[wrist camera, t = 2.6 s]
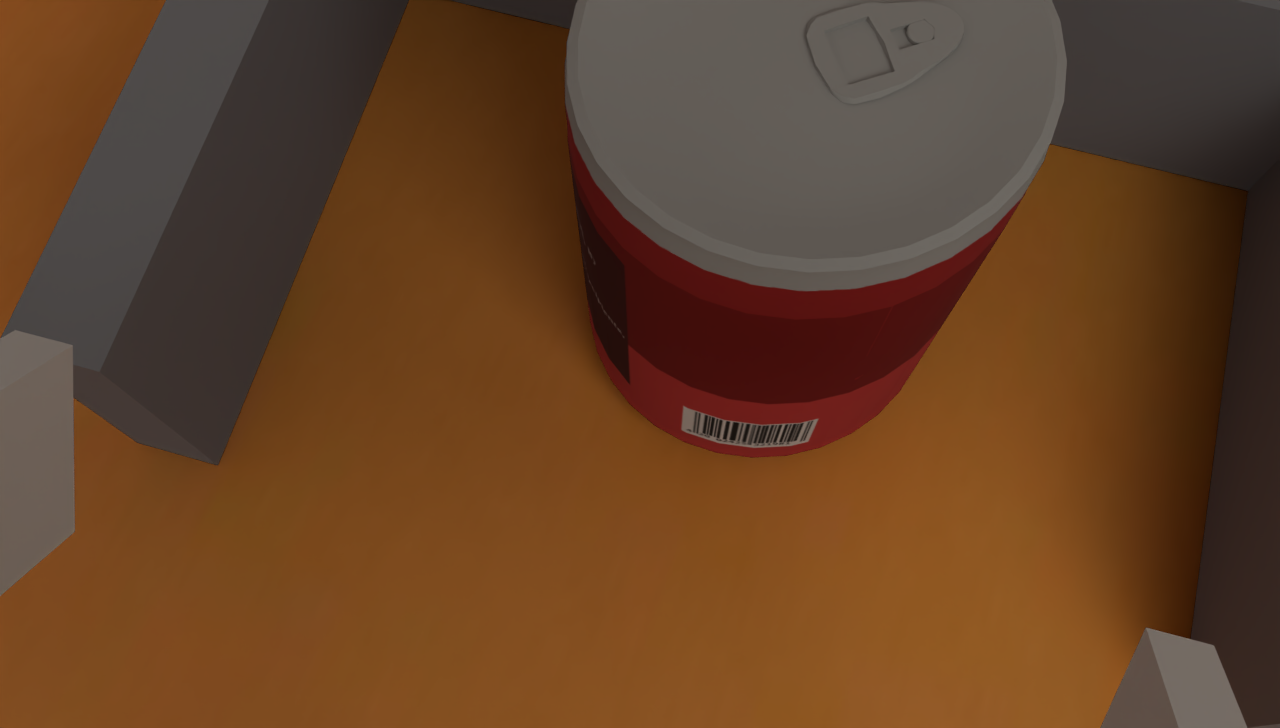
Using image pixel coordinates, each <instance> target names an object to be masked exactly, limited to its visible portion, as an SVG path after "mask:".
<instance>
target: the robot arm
mask: <svg viewBox="0 0 1280 728" xmlns="http://www.w3.org/2000/svg"><path fill="white" fill-rule="evenodd" d="M74 532H75V501H74V411H73V345H70V344H66V343H63V342H59V341H55V340H51V339H47V338H44V337H40V336H36V335H32V334H28V333H25V332H21V331H17V330H14V331H13V332H11V333H9V334H7V335H6V336H4V337H2V338H0V596H1V595H2V594H3V593H4V592H5V591H7V590H8V589H9V588H10V587H11V586H12V585H14V584H15V583H16V582H17V581H18V580H19V579H21V578H22V577H23V576H24V575H25V574H26V573H27V572H29V571H30V570H31V569H32V568H33V567H34V566H36V565H37V564H38V563H39V562H40V561H41V560H43V559H44V558H45V557H46V556H47V555H48V554H50V553H51V552H52V551H53V550H54V549H55V548H56V547H58V546H59V545H60V544H61V543H62V542H63V541H65V540H66V539H67V538H68V537H69V536H70V535H72V534H73V533H74ZM1100 728H1247V726H1246V723H1245V721H1244V718H1243V716H1242V713H1241V711H1240V708H1239V706H1238V703H1237V701H1236V698H1235V696H1234V694H1233V691H1232V689H1231V686H1230V684H1229V681H1228V679H1227V676H1226V674H1225V671H1224V669H1223V666H1222V664H1221V661H1220V659H1219V656H1218V654H1217V651H1216V649H1215V647H1214V645H1211V644H1207V643H1203V642H1199V641H1195V640H1192V639H1188V638H1184V637H1180V636H1176V635H1173V634H1169V633H1165V632H1161V631H1157V630H1154V629H1150V628H1145V631H1144V633H1143V635H1142V637H1141V639H1140V642H1139V644H1138V646H1137V648H1136V650H1135V653H1134V655H1133V657H1132V659H1131V661H1130V664H1129V666H1128V668H1127V670H1126V672H1125V675H1124V677H1123V679H1122V681H1121V683H1120V686H1119V688H1118V690H1117V692H1116V694H1115V697H1114V699H1113V701H1112V703H1111V705H1110V708H1109V710H1108V712H1107V714H1106V716H1105V719H1104V721H1103V723H1102V725H1101V727H1100Z"/></svg>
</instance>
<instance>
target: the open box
mask: <svg viewBox="0 0 1280 728" xmlns="http://www.w3.org/2000/svg"><path fill="white" fill-rule="evenodd" d="M408 1H409V0H166V2H165V4H164V6H163V8H162V10H161V12H160V14H159V16H158V18H157V20H156V22H155V24H154V26H153V28H152V30H151V32H150V34H149V36H148V38H147V40H146V42H145V44H144V46H143V48H142V51H141V53H140V55H139V57H138V59H137V61H136V63H135V65H134V67H133V69H132V71H131V73H130V75H129V77H128V79H127V81H126V83H125V85H124V87H123V89H122V91H121V93H120V95H119V98H118V100H117V102H116V104H115V106H114V108H113V110H112V112H111V114H110V116H109V118H108V120H107V122H106V124H105V126H104V128H103V130H102V132H101V134H100V136H99V138H98V140H97V142H96V144H95V147H94V149H93V151H92V153H91V155H90V157H89V159H88V161H87V163H86V165H85V167H84V169H83V171H82V173H81V175H80V177H79V179H78V181H77V183H76V185H75V187H74V189H73V191H72V194H71V196H70V198H69V200H68V202H67V204H66V206H65V208H64V210H63V212H62V214H61V216H60V218H59V220H58V222H57V224H56V226H55V228H54V230H53V232H52V234H51V236H50V238H49V240H48V243H47V245H46V247H45V249H44V251H43V253H42V255H41V257H40V259H39V261H38V263H37V265H36V267H35V269H34V271H33V273H32V275H31V277H30V279H29V281H28V283H27V285H26V287H25V289H24V292H23V294H22V296H21V298H20V300H19V302H18V304H17V306H16V308H15V310H14V312H13V314H12V316H11V318H10V320H9V322H8V324H7V326H6V328H5V330H4V332H3V334H2V336H1V338H2V337H4V336H6V335H7V334H9V333H11V332H13V331H14V330H17V331H21V332H25V333H28V334H32V335H36V336H40V337H44V338H47V339H51V340H55V341H59V342H63V343H66V344H70V345H73V397H74V398H75V399H77V400H78V401H79V402H81V403H82V404H84V405H85V406H86V407H88V408H89V409H91V410H92V411H93V412H95V413H96V414H98V415H99V416H101V417H102V418H103V419H105V420H106V421H108V422H109V423H110V424H112V425H113V426H115V427H116V428H117V429H119V430H120V431H122V432H123V433H124V434H126V435H127V436H129V437H130V438H132V439H133V440H134V441H136V442H137V443H140V444H144V445H147V446H151V447H154V448H158V449H162V450H165V451H169V452H172V453H176V454H179V455H183V456H186V457H190V458H193V459H197V460H201V461H204V462H208V463H211V464H215V465H218V464H219V461H220V459H221V457H222V454H223V452H224V449H225V447H226V444H227V442H228V440H229V437H230V435H231V432H232V430H233V427H234V425H235V422H236V420H237V418H238V415H239V413H240V410H241V408H242V405H243V403H244V401H245V398H246V396H247V393H248V391H249V388H250V386H251V383H252V381H253V379H254V376H255V374H256V371H257V369H258V366H259V364H260V362H261V359H262V357H263V354H264V352H265V349H266V347H267V344H268V342H269V340H270V337H271V335H272V332H273V330H274V327H275V325H276V323H277V320H278V318H279V315H280V313H281V310H282V308H283V305H284V303H285V301H286V298H287V296H288V293H289V291H290V288H291V286H292V284H293V281H294V279H295V276H296V274H297V271H298V269H299V266H300V264H301V262H302V259H303V257H304V254H305V252H306V249H307V247H308V245H309V242H310V240H311V237H312V235H313V232H314V230H315V227H316V225H317V223H318V220H319V218H320V215H321V213H322V210H323V208H324V206H325V203H326V201H327V198H328V196H329V193H330V191H331V188H332V186H333V184H334V181H335V179H336V176H337V174H338V171H339V169H340V167H341V164H342V162H343V159H344V157H345V154H346V152H347V149H348V147H349V145H350V142H351V140H352V137H353V135H354V132H355V130H356V128H357V125H358V123H359V120H360V118H361V115H362V113H363V110H364V108H365V106H366V103H367V101H368V98H369V96H370V93H371V91H372V89H373V86H374V84H375V81H376V79H377V76H378V74H379V71H380V69H381V67H382V64H383V62H384V59H385V57H386V54H387V52H388V50H389V47H390V45H391V42H392V40H393V37H394V35H395V32H396V30H397V28H398V25H399V23H400V20H401V18H402V15H403V13H404V11H405V8H406V6H407V3H408ZM452 1H456V2H460V3H464V4H468V5H472V6H477V7H481V8H485V9H489V10H493V11H498V12H502V13H506V14H510V15H514V16H518V17H523V18H527V19H531V20H535V21H539V22H544V23H548V24H552V25H556V26H560V27H564V28H569V29H570V27H571V23H572V19H573V14H574V10H575V6H576V3H577V1H578V0H452ZM1052 2H1053V4H1054V7H1055V9H1056V12H1057V14H1058V16H1059V19H1060V22H1061V28H1062V34H1063V40H1064V46H1065V52H1066V58H1067V67H1066V81H1065V95H1064V103H1063V106H1062V109H1061V113H1060V116H1059V119H1058V122H1057V125H1056V128H1055V131H1054V134H1053V137H1052V141H1051V143H1050V144H1054V145H1058V146H1062V147H1066V148H1070V149H1075V150H1079V151H1083V152H1087V153H1091V154H1096V155H1100V156H1104V157H1108V158H1112V159H1116V160H1121V161H1125V162H1129V163H1133V164H1137V165H1142V166H1146V167H1150V168H1154V169H1158V170H1162V171H1167V172H1171V173H1175V174H1179V175H1183V176H1188V177H1192V178H1196V179H1200V180H1204V181H1208V182H1213V183H1217V184H1221V185H1225V186H1229V187H1234V188H1238V189H1242V190H1246V191H1248V195H1247V203H1246V210H1245V218H1244V226H1243V234H1242V242H1241V250H1240V257H1239V265H1238V273H1237V281H1236V289H1235V296H1234V304H1233V312H1232V320H1231V328H1230V336H1229V343H1228V351H1227V359H1226V367H1225V375H1224V382H1223V390H1222V398H1221V406H1220V414H1219V422H1218V429H1217V437H1216V445H1215V453H1214V461H1213V468H1212V476H1211V484H1210V492H1209V500H1208V508H1207V515H1206V523H1205V531H1204V539H1203V547H1202V554H1201V562H1200V570H1199V578H1198V586H1197V593H1196V601H1195V609H1194V617H1193V625H1192V633H1191V639H1192V640H1195V641H1199V642H1203V643H1207V644H1211V645H1214V647H1215V649H1216V651H1217V654H1218V656H1219V659H1220V661H1221V664H1222V666H1223V669H1224V671H1225V674H1226V676H1227V679H1228V681H1229V684H1230V686H1231V689H1232V691H1233V694H1234V696H1235V698H1236V701H1237V703H1238V706H1239V708H1240V711H1241V713H1242V716H1243V718H1244V721H1245V723H1246V726H1247V728H1280V0H1052Z"/></svg>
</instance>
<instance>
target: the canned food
mask: <svg viewBox="0 0 1280 728" xmlns="http://www.w3.org/2000/svg"><path fill="white" fill-rule="evenodd" d="M1066 67H1067V58H1066V52H1065V46H1064V40H1063V34H1062V28H1061V22H1060V19H1059V16H1058V14H1057V12H1056V9H1055V7H1054V4H1053V2H1052V0H578V1H577V3H576V6H575V10H574V14H573V19H572V23H571V27H570V31H569V36H568V40H567V56H566V60H565V108H566V117H567V126H568V146H569V154H570V162H571V170H572V178H573V186H574V195H575V203H576V211H577V219H578V227H579V235H580V243H581V251H582V259H583V267H584V275H585V283H586V292H587V300H588V308H589V316H590V323H591V327H592V332H593V336H594V340H595V344H596V349H597V352H598V354H599V356H600V358H601V361H602V363H603V365H604V367H605V369H606V371H607V373H608V375H609V377H610V379H611V381H612V382H613V383H614V384H615V386H616V387H617V388H618V390H619V391H620V392H621V393H622V395H623V396H624V397H625V399H626V400H627V401H628V402H629V404H630V405H631V406H632V407H634V408H635V409H636V410H637V411H638V412H640V413H641V414H642V415H643V416H644V417H645V418H647V419H648V420H649V421H650V422H651V423H653V424H654V425H655V426H657V427H658V428H660V429H662V430H664V431H665V432H667V433H669V434H671V435H673V436H674V437H676V438H678V439H680V440H682V441H683V442H686V443H689V444H692V445H695V446H698V447H701V448H704V449H707V450H710V451H713V452H716V453H722V454H730V455H737V456H745V457H769V456H787V455H791V454H795V453H799V452H804V451H808V450H812V449H816V448H820V447H822V446H825V445H827V444H829V443H831V442H833V441H836V440H838V439H840V438H842V437H845V436H847V435H849V434H851V433H853V432H854V431H855V430H857V429H858V428H860V427H861V426H862V425H864V424H865V423H867V422H868V421H869V420H871V419H872V418H874V417H875V416H877V415H878V414H879V413H880V412H881V411H882V410H883V409H884V407H885V406H886V405H887V404H888V403H889V402H890V401H891V400H892V399H893V398H894V397H895V396H896V395H897V394H898V393H899V391H900V390H901V388H902V387H903V385H904V384H905V382H906V381H907V379H908V378H909V376H910V374H911V373H912V371H913V370H914V368H915V367H916V365H917V364H918V362H919V360H920V359H921V357H922V356H923V354H924V353H925V351H926V350H927V348H928V346H929V345H930V343H931V342H932V340H933V339H934V337H935V336H936V334H937V332H938V331H939V329H940V328H941V326H942V325H943V323H944V321H945V320H946V318H947V317H948V315H949V314H950V312H951V311H952V309H953V307H954V306H955V304H956V303H957V301H958V300H959V298H960V297H961V295H962V293H963V292H964V290H965V289H966V287H967V286H968V284H969V283H970V281H971V279H972V278H973V276H974V275H975V273H976V272H977V270H978V269H979V267H980V265H981V264H982V262H983V261H984V259H985V258H986V256H987V254H988V253H989V251H990V250H991V248H992V247H993V245H994V244H995V242H996V240H997V239H998V237H999V236H1000V234H1001V233H1002V231H1003V230H1004V228H1005V226H1006V225H1007V223H1008V221H1009V220H1010V218H1011V216H1012V215H1013V213H1014V211H1015V210H1016V208H1017V206H1018V205H1019V203H1020V201H1021V200H1022V198H1023V196H1024V195H1025V193H1026V190H1027V188H1028V187H1029V185H1030V183H1031V182H1032V180H1033V178H1034V177H1035V175H1036V173H1037V172H1038V170H1039V168H1040V167H1041V165H1042V163H1043V162H1044V159H1045V156H1046V153H1047V150H1048V147H1049V144H1050V143H1051V141H1052V137H1053V134H1054V131H1055V128H1056V125H1057V122H1058V119H1059V116H1060V113H1061V109H1062V106H1063V103H1064V95H1065V81H1066Z"/></svg>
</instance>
